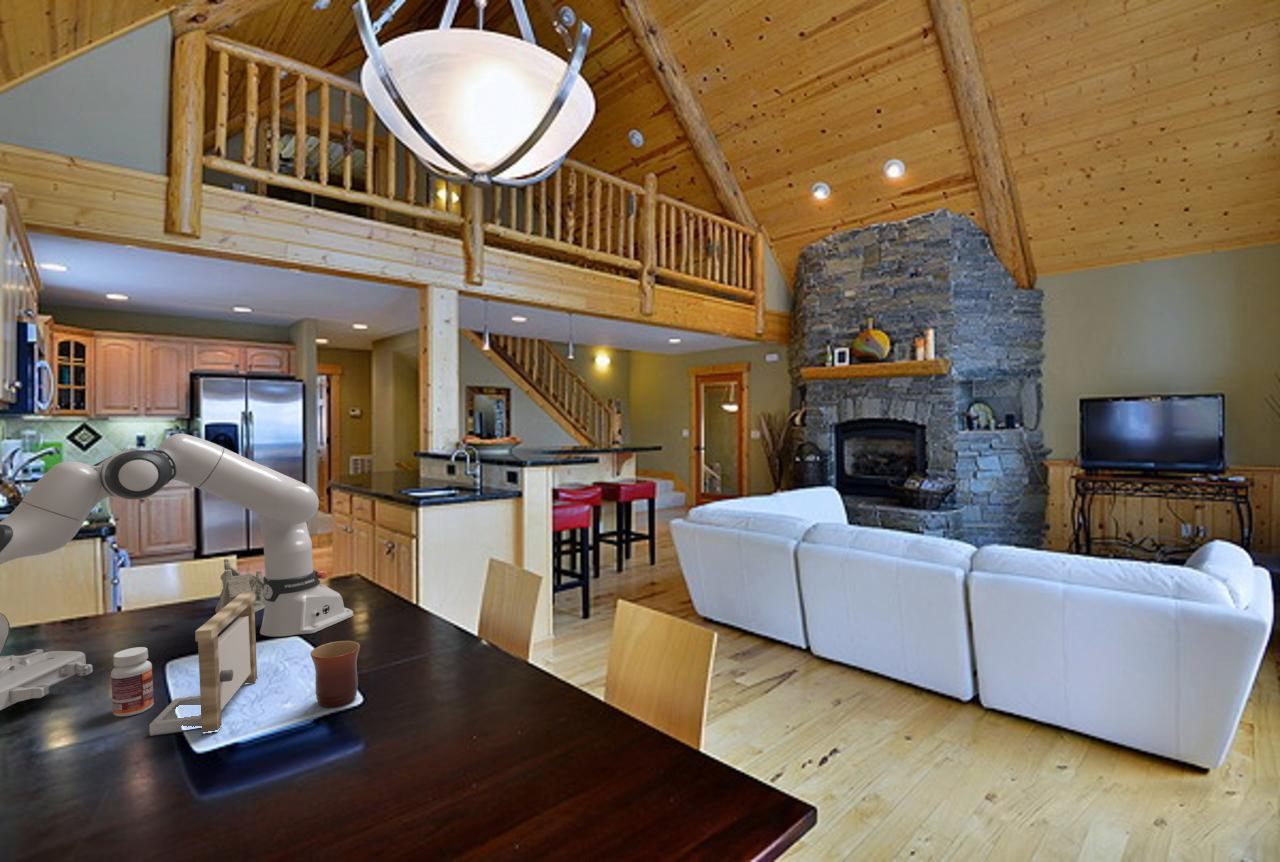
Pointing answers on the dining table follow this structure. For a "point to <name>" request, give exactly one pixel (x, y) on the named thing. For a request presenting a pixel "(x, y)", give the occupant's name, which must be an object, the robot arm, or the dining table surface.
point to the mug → (336, 672)
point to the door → (233, 658)
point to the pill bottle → (132, 682)
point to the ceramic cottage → (240, 587)
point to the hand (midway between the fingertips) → (68, 680)
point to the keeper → (168, 720)
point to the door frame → (210, 656)
